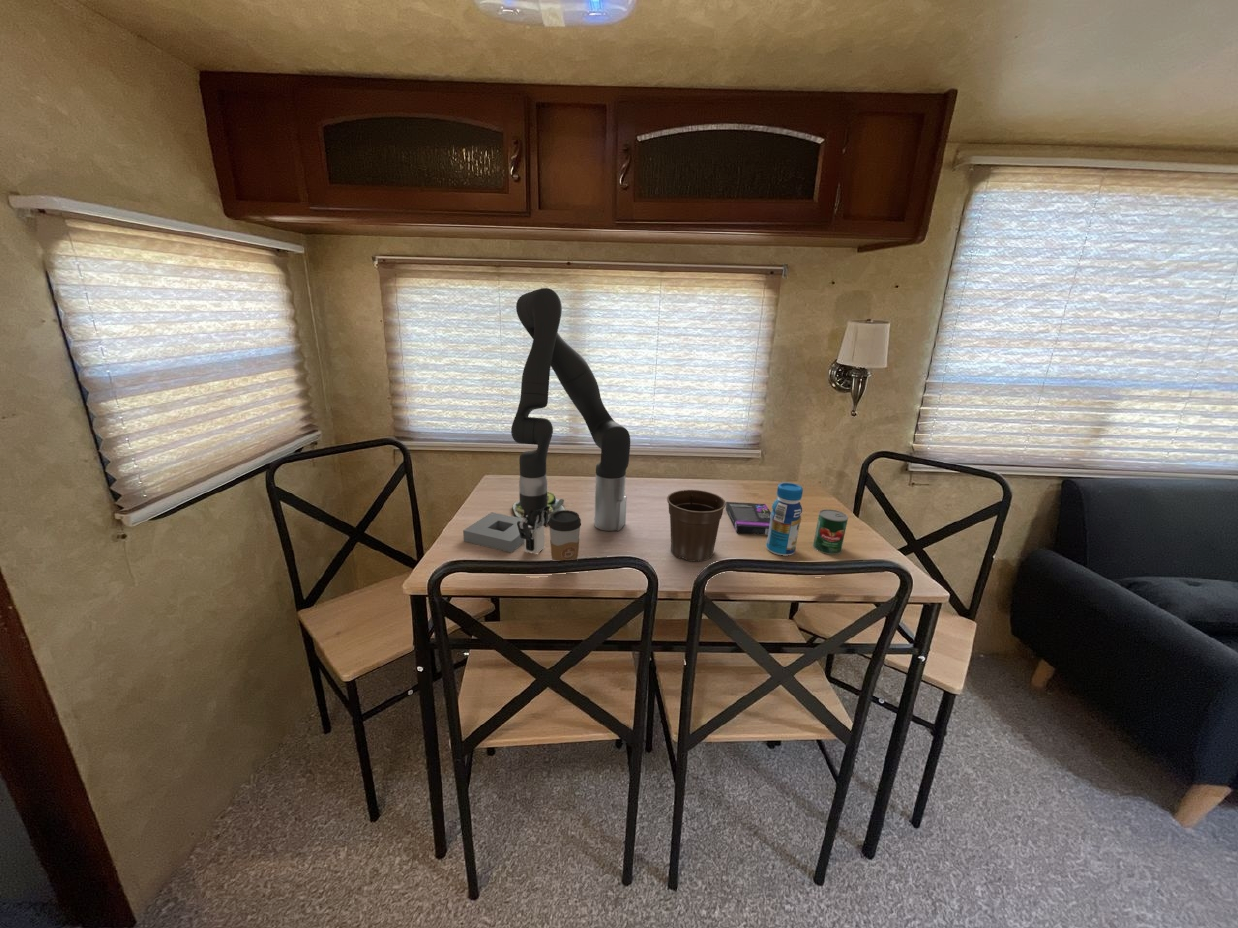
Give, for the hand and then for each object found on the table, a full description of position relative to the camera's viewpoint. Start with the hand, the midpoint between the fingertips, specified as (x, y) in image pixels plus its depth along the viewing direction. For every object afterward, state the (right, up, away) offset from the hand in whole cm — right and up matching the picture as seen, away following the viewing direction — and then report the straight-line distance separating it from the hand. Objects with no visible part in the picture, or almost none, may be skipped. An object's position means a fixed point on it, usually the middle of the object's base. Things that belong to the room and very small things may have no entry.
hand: (534, 545), depth 136 cm
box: (+68, +3, +25) cm, 72 cm away
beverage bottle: (+71, -2, +6) cm, 72 cm away
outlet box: (-11, +2, +7) cm, 13 cm away
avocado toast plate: (-3, +7, +26) cm, 27 cm away
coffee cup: (+9, -5, -8) cm, 13 cm away
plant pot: (+45, -2, +3) cm, 45 cm away
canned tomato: (+86, -2, +8) cm, 86 cm away
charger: (0, -1, 0) cm, 1 cm away
